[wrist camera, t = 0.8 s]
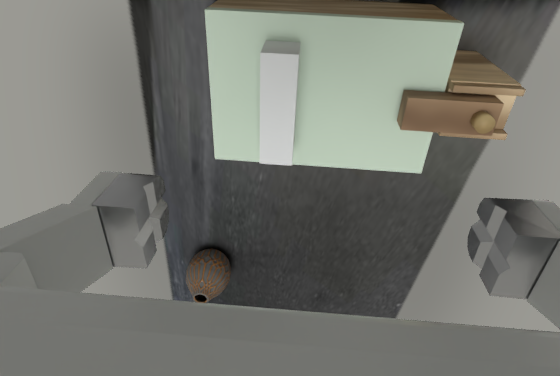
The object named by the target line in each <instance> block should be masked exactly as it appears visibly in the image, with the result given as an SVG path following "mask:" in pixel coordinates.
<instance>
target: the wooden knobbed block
mask: <svg viewBox="0 0 560 376" xmlns="http://www.w3.org/2000/svg"><path fill="white" fill-rule="evenodd" d="M503 106H504V103H503V102H502V101H501V100H499V99H498V98H497V97H496V96H495V95H480V94H464V93H448V92H431V91H415V90H404V91H403V95H402V100H401V104H400V109H399V113H398V118H397V122H398V125H399V127H400V130H408V131H423V132H439V133H454V134H469V135H484V136H492V134H493V132H494V129H495V126H496V124H497V121H498V119H499V116H500V113H501V111H502V108H503Z"/></svg>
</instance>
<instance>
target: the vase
mask: <svg viewBox="0 0 560 376" xmlns="http://www.w3.org/2000/svg"><path fill="white" fill-rule="evenodd" d="M230 273H231V267H230V263H229V260H228V258H227V257H226V256H225V254H223V253H222V252H221V251H219V250H216V249H205V250H202V251H200V252H198V253H197V254H196V255H195V256H194V257H193V258H192V259H191V261H190V263H189V265H188V268H187V271H186V282H187V286H188V288H189V290H190V292H191V293H192V297H193V300H194V301H195V302H200V303H207V302H208V301H209V300H210V299H212V298H214V297H216V296H218V295H219V294H220V293H221V292H222V291H223V290H224V289H225V287H226V286H227V284H228V282H229V279H230Z"/></svg>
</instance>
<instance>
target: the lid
mask: <svg viewBox="0 0 560 376" xmlns="http://www.w3.org/2000/svg"><path fill="white" fill-rule="evenodd" d="M205 22H206V36H207V51H208V65H209V80H210V94H211V108H212V123H213V137H214V152H215V159H225V160H239V161H253V162H260V163H261V164H275V165H289V166H292V164H296V165H310V166H324V167H338V168H352V169H366V170H380V171H394V172H408V173H421V172H422V169H423V165H424V162H425V158H426V155H427V151H428V148H429V144H430V141H431V137H432V134H433V132H423V131H408V130H400V127H399V125H398V122H397V118H398V113H399V109H400V104H401V100H402V95H403V91H404V90H415V91H431V92H445V89H446V85H447V82H448V78H449V75H450V71H451V68H452V64H453V61H454V57H455V54H456V50H457V47H458V43H459V40H460V36H461V33H462V30H463V26H464V23H463V22H461V21H460V20H442V19H423V18H404V17H385V16H366V15H347V14H328V13H309V12H290V11H272V10H253V9H234V8H215V7H208V8H206V9H205Z"/></svg>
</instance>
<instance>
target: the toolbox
mask: <svg viewBox="0 0 560 376" xmlns="http://www.w3.org/2000/svg"><path fill="white" fill-rule="evenodd" d="M209 7H215V8H234V9H253V10H272V11H290V12H309V13H328V14H347V15H366V16H385V17H404V18H423V19H442V20H457V19H455V18H454V17H452V16H450V15H449V14H447V13H446V12H444V11H442V10H441V9H439V8H438V7H436V6H434V5H433V4H416V3H397V2H377V1H358V0H218V1H216V2H215V3H213V4H212V5H210V6H209ZM445 92H448V93H464V94H480V95H495V96H496V97H497V98H498V99H499V100H501V101H502V102H503V103H504V106H503V108H502V111H501V113H500V116H499V119H498V121H497V124H496V126H495V129H494V132H493V134H492V136H484V135H469V134H454V133H439V132H437V133H438V134H439V136H452V137H467V138H482V139H498V140H505V139H506V137H507V133H506V132H505V131H504V130H503V128H504V126H505V123H506V121H507V118H508V116H509V113H510V111H511V108H512V106H513V103H514V101H515V98H516V96H523V95H524V92H525V89H524V88H523V87H522V86H521V84H520V83H518V82H517V81H516V80H514V79H513V78H512V77H510V76H509V75H508V74H506V73H505V72H504V71H502V70H501V69H499V68H498V67H497V66H495V65H494V64H493V63H491V62H490V61H489V60H487V59H486V58H485V57H483V56H482V55H481V54H479V53H478V52H477V51H463V50H456V54H455V57H454V61H453V64H452V68H451V71H450V75H449V78H448V82H447V85H446V89H445Z"/></svg>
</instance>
